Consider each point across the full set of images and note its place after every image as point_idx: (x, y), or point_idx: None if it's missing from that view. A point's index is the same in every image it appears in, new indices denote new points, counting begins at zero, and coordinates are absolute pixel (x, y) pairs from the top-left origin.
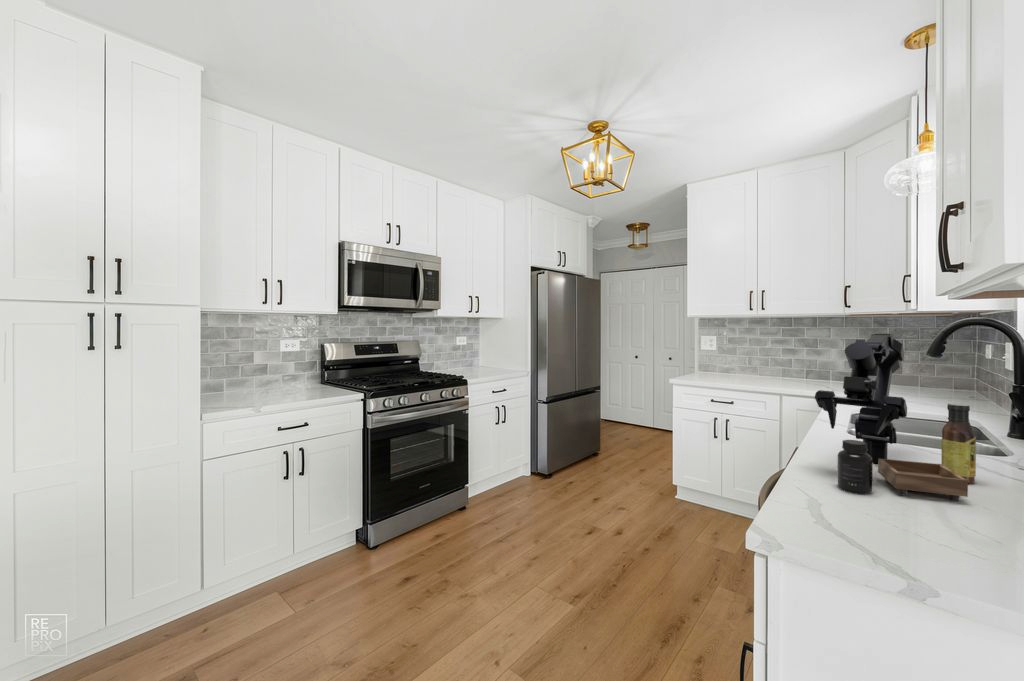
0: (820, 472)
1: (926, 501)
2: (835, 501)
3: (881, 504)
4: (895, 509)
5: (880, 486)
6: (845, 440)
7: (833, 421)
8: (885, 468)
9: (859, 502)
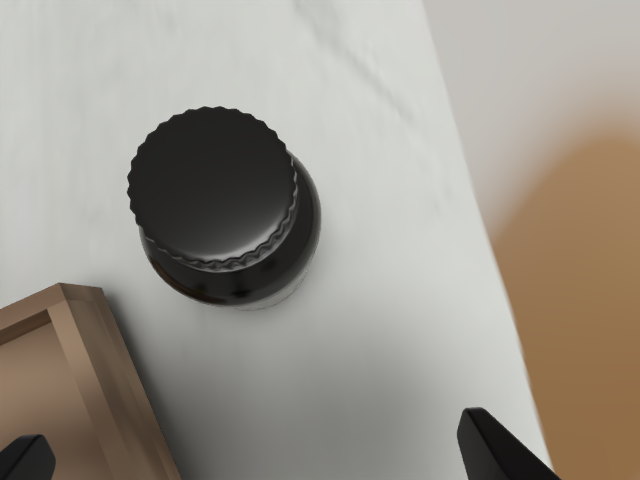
0: (420, 397)
1: None
2: (270, 66)
3: None
4: (104, 130)
5: (183, 386)
6: (279, 188)
7: (502, 469)
8: (135, 437)
9: None
